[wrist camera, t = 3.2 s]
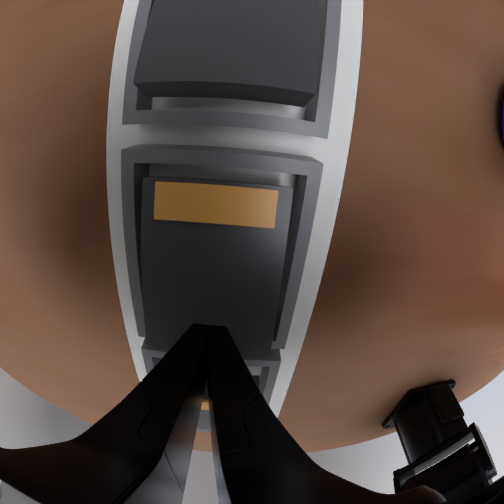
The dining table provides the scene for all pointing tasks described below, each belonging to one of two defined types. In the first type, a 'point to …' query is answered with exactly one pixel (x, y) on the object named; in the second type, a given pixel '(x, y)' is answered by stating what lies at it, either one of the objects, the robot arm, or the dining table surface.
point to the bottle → (503, 121)
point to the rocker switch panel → (235, 172)
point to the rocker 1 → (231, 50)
